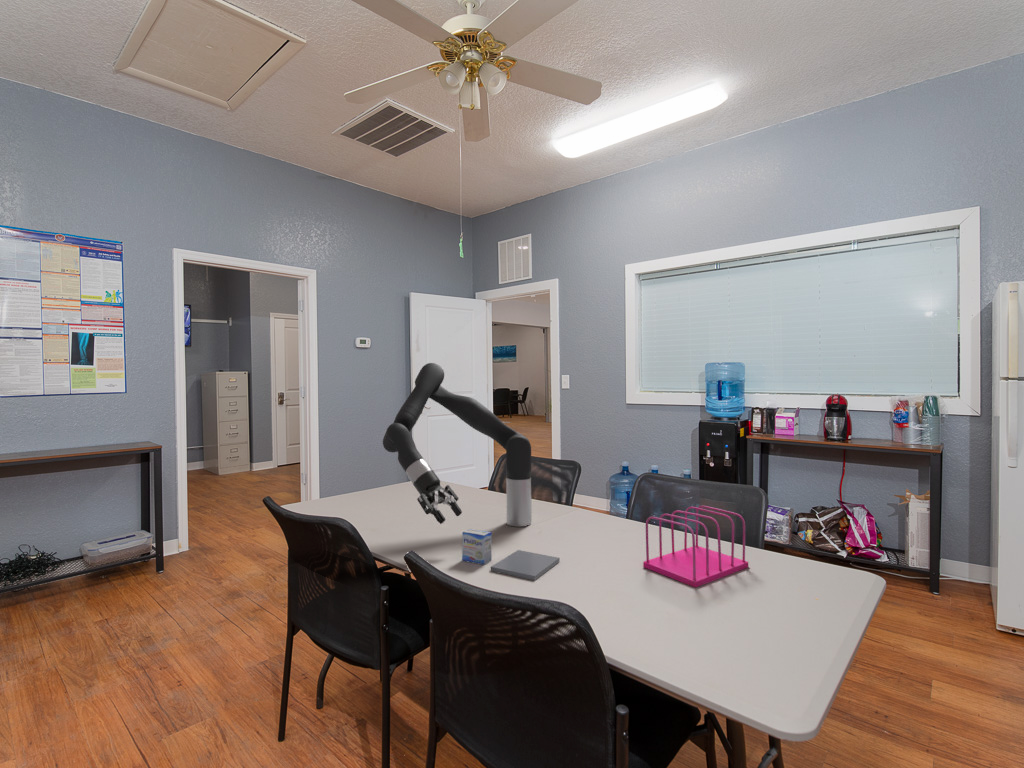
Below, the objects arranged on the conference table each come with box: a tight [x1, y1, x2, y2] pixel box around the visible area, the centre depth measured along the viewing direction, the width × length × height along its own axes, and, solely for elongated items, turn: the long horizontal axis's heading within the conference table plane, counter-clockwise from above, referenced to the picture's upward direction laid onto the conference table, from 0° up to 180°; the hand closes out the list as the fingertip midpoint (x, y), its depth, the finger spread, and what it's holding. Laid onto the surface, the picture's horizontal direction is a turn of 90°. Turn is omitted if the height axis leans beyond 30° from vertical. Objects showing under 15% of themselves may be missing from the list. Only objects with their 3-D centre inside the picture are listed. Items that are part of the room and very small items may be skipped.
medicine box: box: [461, 528, 493, 565], centre depth 150 cm, size 8×4×9 cm, turn 62°
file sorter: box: [642, 505, 749, 588], centre depth 144 cm, size 17×25×16 cm
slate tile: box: [490, 549, 560, 582], centre depth 145 cm, size 16×14×1 cm
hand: (451, 518), depth 155 cm, fingers open, 8 cm apart
